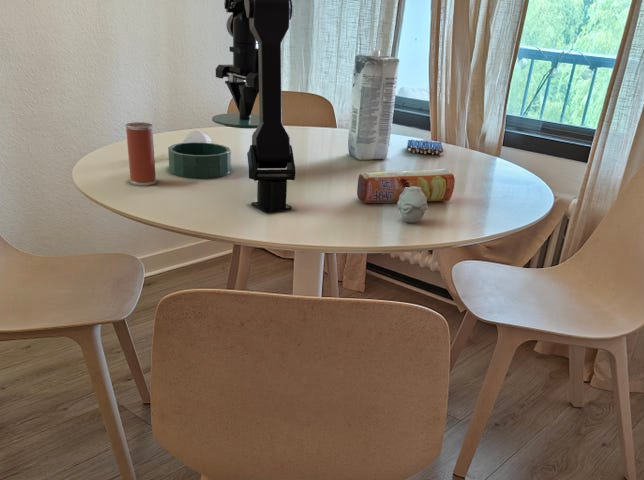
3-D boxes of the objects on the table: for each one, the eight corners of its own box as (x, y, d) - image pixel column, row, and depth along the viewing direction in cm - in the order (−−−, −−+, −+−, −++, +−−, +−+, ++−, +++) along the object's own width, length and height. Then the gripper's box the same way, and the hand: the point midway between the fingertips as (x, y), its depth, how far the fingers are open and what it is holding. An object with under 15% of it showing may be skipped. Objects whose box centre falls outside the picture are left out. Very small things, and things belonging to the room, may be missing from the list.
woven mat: (443, 155, 186) (444, 148, 185) (406, 152, 188) (407, 145, 187) (442, 148, 195) (443, 141, 194) (407, 145, 197) (407, 138, 196)
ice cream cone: (178, 160, 165) (203, 158, 178) (196, 147, 162) (220, 146, 176) (165, 139, 164) (191, 139, 178) (183, 125, 162) (208, 126, 175)
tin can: (160, 184, 146) (156, 126, 140) (136, 186, 143) (131, 128, 137) (150, 177, 150) (146, 121, 144) (126, 180, 147) (121, 123, 141)
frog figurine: (419, 216, 135) (423, 183, 132) (429, 227, 129) (435, 192, 126) (391, 216, 134) (395, 182, 131) (400, 227, 128) (405, 192, 125)
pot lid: (289, 127, 155) (291, 100, 152) (232, 132, 147) (232, 103, 144) (255, 116, 166) (255, 90, 163) (200, 119, 158) (199, 93, 155)
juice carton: (391, 160, 179) (404, 53, 166) (357, 161, 176) (367, 52, 162) (376, 152, 186) (387, 49, 173) (343, 153, 183) (352, 48, 169)
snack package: (364, 206, 140) (367, 175, 136) (354, 197, 145) (357, 167, 142) (453, 204, 145) (458, 173, 141) (440, 195, 150) (445, 166, 147)
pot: (241, 174, 157) (241, 153, 154) (185, 181, 149) (184, 158, 147) (212, 161, 167) (212, 140, 164) (159, 166, 159) (158, 144, 157)
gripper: (297, 47, 145) (294, 119, 153) (254, 39, 158) (253, 106, 166) (255, 46, 139) (254, 122, 147) (214, 38, 152) (215, 108, 160)
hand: (245, 114), depth 155 cm, fingers closed on pot lid, 3 cm apart
